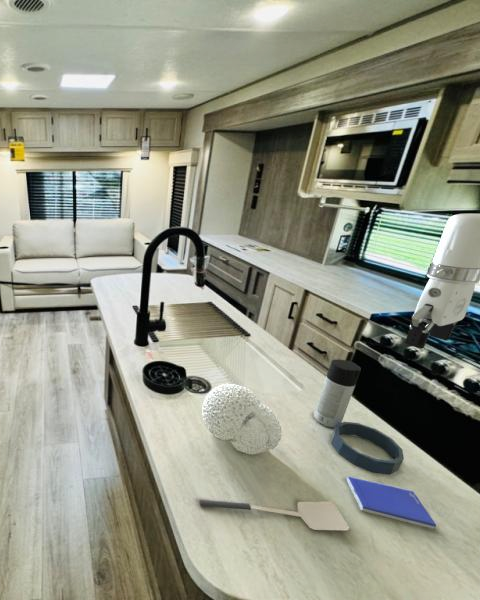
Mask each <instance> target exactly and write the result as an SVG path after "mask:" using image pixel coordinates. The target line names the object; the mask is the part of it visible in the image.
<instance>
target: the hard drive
mask: <svg viewBox="0 0 480 600" xmlns="http://www.w3.org/2000/svg"><path fill="white" fill-rule="evenodd" d="M346 482H347V484H348V486H349V489H350V490H351V492H352V495H353V497H354V499H355V500H356V502H357V505H358V506H359V509H360V510H361V512H365V513H368V514H372V515H377V516H381V517H384V518H389V519H392V520H397V521H401V522H404V523H409V524H413V525H415V526H419V527H423V528H427V529H432V530H435V529H436V527H437V524H436V522H435V521H434V519H433V518H432V516H431V515H430V513H429V512H428V511H427V509H426V507H425V506H424V504H422V503H423V502H421V500H420V499H419V497H418V496H417V495H416V493H415V492H414V491H413V490H409V489H405V488H401V487H396V486H392V485H388V484H383V483H378V482H374V481H370V480H364V479H361V478H357V477H352V476H347V478H346Z"/></svg>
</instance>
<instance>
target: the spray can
mask: <svg viewBox="0 0 480 600" xmlns="http://www.w3.org/2000/svg"><path fill="white" fill-rule="evenodd" d="M360 373H361V367H360V366H359V365H358V364H357V363H355V362H353V361H350V360H347V359H332V360H331V361H330V364H329V367H328V369H327V373H326V376H325V379H324V382H323V385H322V387H321V391H320V394H319V398H318V400H317V404H316V406H315V409H314V412H313V417H314V419H315V420H316V421H317V422H318V423H320V424H321V425H323V426H326V427H329V428H335V426H336V425H337V424H340V423H342V422H343V419H344V417H345V414H346V411H347V409H348V406H349V403H350V401H351V398H352V396H353V393H354V390H355V388H356V385H357V381H358V378H359V376H360Z"/></svg>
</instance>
